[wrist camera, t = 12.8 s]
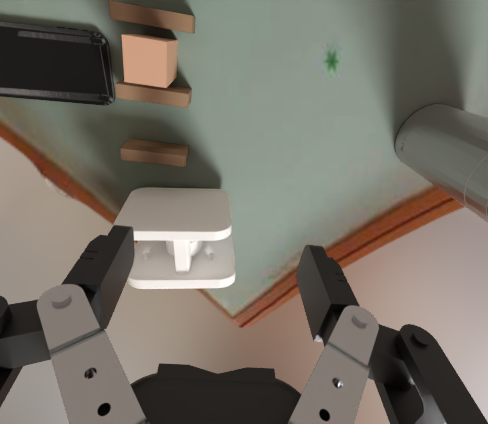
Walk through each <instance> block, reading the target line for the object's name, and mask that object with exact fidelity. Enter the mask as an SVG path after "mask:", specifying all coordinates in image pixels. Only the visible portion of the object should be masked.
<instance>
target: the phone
mask: <svg viewBox="0 0 488 424" xmlns="http://www.w3.org/2000/svg"><path fill="white" fill-rule="evenodd" d="M0 96H3V97H14V98H26V99H38V100H49V101H61V102H72V103H84V104H95V105H109V104H111V103H112V102H113V101H114V100H115V90H114V82H113V74H112V66H111V58H110V51H109V44H108V41H107V39H106V38H105V37H104V36H103V35H102V34H100V33H97V32H89V31H87V30H82V31H80V30H77V29H71V28H68V29H66V28H64V27H57V28H54V27H45V26H37V25H28V24H19V23H10V22H2V21H0Z"/></svg>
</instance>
